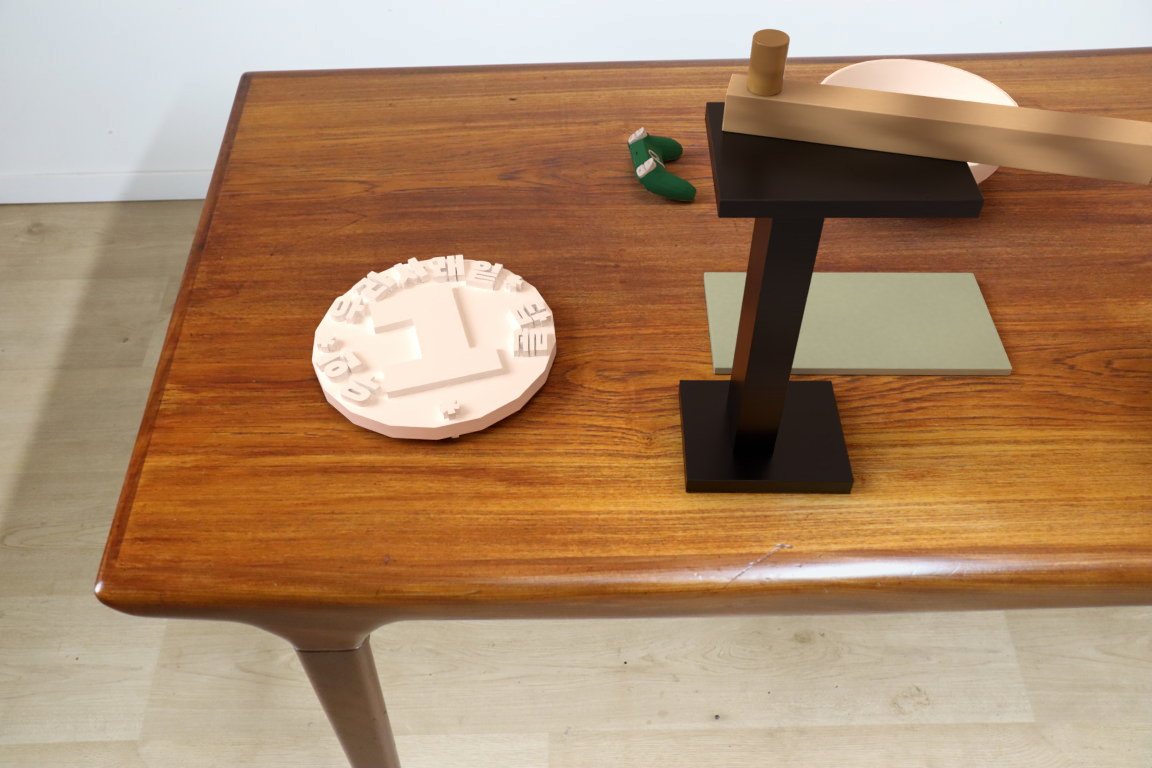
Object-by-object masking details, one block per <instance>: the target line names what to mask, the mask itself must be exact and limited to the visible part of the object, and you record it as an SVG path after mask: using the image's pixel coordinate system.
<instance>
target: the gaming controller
mask: <svg viewBox="0 0 1152 768" xmlns="http://www.w3.org/2000/svg"><path fill="white" fill-rule="evenodd" d="M627 148H628V150H629V154H630V158H631V162H632V165H633V169H634V173H635V176H636V178H637V180H638V182H639V183H640V185H642V187H643V188H644V189H645V190H646V191H648V192H651V193H652V194H654V195H657V196H660V197H662V198H665V199H670V200H675V201H679V202H680V201H681V202H694V201H695V198H696V194H697V190H698V189H697V188H696V187H695V185H693V184H692V183H691V182H689V181H688V180H686V179H684V178H682V177H680V176H678V175H676V174H674V173H672V172H669V171H667V170H666V166H665V163H664V162H665V161H674V160H678V159H679V158H680V157H681V156H682V155H683V153H684V147H683V146H682V145H681V143H679V141H677V140H676V139H673V138H671V137H667V136H661V135H651V134H649V132H647V131H646V130H645V127H643V126H642V127H640V128H639V129H637V130H636V131H635V132H634V133H632V134H631V135H630V136H629V138H628V140H627Z"/></svg>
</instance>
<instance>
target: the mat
mask: <svg viewBox="0 0 1152 768" xmlns="http://www.w3.org/2000/svg"><path fill="white" fill-rule="evenodd" d="M746 274H747V271H746V272H745V271H743V272H742V271H734V272H733V271H731V272H729V271H704V272H703V286H704V296H705V305H706V314H707V324H708V332H709V341H710V350H711V351H710V352H711V359H712V367H713V368H712V369H713V374H714V375H731V372H732V366H733V359H734V353H735V346H736V339H737V333H738V326H739V320H740V313H741V307H742V300H743V294H744V287H745V281H746ZM1012 371H1013V367H1012V364H1011V361H1010V360H1009V357H1008V355H1007V352H1006V349H1005V347H1004V344H1003V342H1002V340H1001V337H1000V334H999V332H998V329H997V328H996V325H995V322H994V320H993V318H992V316H991V313H990V311H989V308H988V305H987V303H986V301H985V299H984V295H983V294H982V291H981V289H980V286H979V284H978V281H977V279H976V277H975V273H973V272H813V274H812V279H811V283H810V288H809V293H808V297H807V302H806V306H805V311H804V315H803V320H802V325H801V329H800V334H799V338H798V343H797V347H796V352H795V357H794V361H793V366H792V370H791V375H822V376H823V375H824V376H825V375H832V376H835V375H838V376H839V375H840V376H841V375H842V376H843V375H844V376H845V375H847V376H849V375H851V376H1010V375H1011V374H1012Z"/></svg>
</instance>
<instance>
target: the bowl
mask: <svg viewBox="0 0 1152 768" xmlns="http://www.w3.org/2000/svg"><path fill="white" fill-rule="evenodd" d="M820 84H826V85H834V86H843V87H852V88H860V89H869V90H877V91H886V92H895V93H903V94H912V95H920V96H929V97H938V98H946V99H955V100H963V101H972V102H981V103H989V104H998V105H1006V106H1015V107H1020V105H1018V103H1017V102H1016V101H1015V99H1013V98H1012V97H1011V95H1010V94H1008V92H1006V91H1005V90H1003V89H1002V88H1001V87H999V86H998V85H996V84H995V83H993V82H992V81H990V80H987V79H986V78H984V77H982V76H981V75H978V74H975V73H973V72H970V71H967V70H965V69H962V68H959V67H955V66H952V65H948V64H945V63H939V62H934V61H929V60H923V59H911V58H910V59H909V58H882V59H873V60H865V61H861V62H858V63H854V64H850V65H847V66H845V67H842V68H840V69H837V70H836V71H834V72H833V73H830V75H828V76H826V77H825V78H824V79H823V80H822V81H821V82H820ZM967 163H968V165H969V167H970V170H971V172H972V174H973V176H974V178H975V180H976V183H977V185H978V186H979V185H980V184H981V183H982V182H984V181H985V180H987V178H989V177H990V176H991V175H992V174H993V173H995V172H996V171H997V170H998V169H999V168H1000V166H993V165H986V164H978V163H970V162H967Z"/></svg>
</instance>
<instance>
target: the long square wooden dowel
mask: <svg viewBox="0 0 1152 768" xmlns="http://www.w3.org/2000/svg"><path fill="white" fill-rule="evenodd" d="M790 41H791V38H790V35H789V34H788V33H786V32H785V31H784V30H779V29H774V28H764V29H760V30H757V31H756V32H754V34H753V35H752V40H751V47H750V55H749V56H750V57H749V63H748V71H747V74H738V73H732V74H731V76H730V80H729V83H728V86H727V89H726V93H725V99H724V102H725V108H724V117H723V125H722V131H727V132H735V133H743V134H750V135H758V136H766V137H774V138H782V139H790V140H797V141H805V142H813V143H821V144H829V145H837V146H844V147H852V148H860V149H868V150H876V151H884V152H891V153H899V154H907V155H915V156H923V157H931V158H939V159H946V160H954V161H962V162H970V163H978V164H986V165H993V166H999V167H1002V168H1010V169H1018V170H1027V171H1033V172H1042V173H1050V174H1056V175H1057V174H1058V175H1065V176H1073V177H1081V178H1088V179H1094V180H1095V179H1096V180H1097V179H1098V180H1103V181H1104V180H1105V181H1112V182H1118V183H1119V182H1120V183H1127V184H1136V185H1142V186H1148V185H1149V184H1150V183H1151V180H1152V121H1144V120H1137V119H1135V120H1134V119H1127V118H1126V119H1125V118H1118V117H1117V118H1115V117H1109V116H1100V115H1092V114H1083V113H1074V112H1067V111H1066V112H1065V111H1058V110H1049V109H1042V108H1041V109H1039V108H1030V107H1023V106H1019V107H1015V106H1006V105H998V104H989V103H981V102H972V101H963V100H955V99H946V98H938V97H929V96H920V95H912V94H903V93H895V92H886V91H877V90H869V89H860V88H852V87H843V86H834V85H826V84H821V83H818V82H817V83H816V82H807V81H800V80H799V81H798V80H790V79H785V73H786V67H787V61H788V54H789V48H790Z"/></svg>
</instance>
